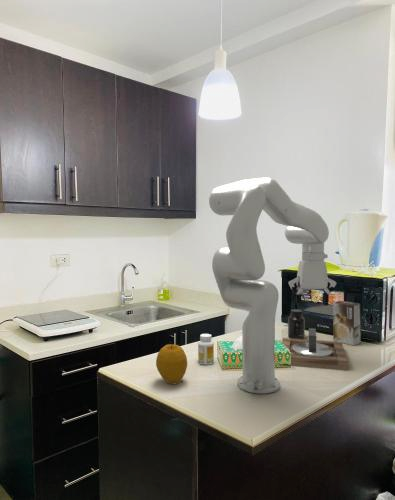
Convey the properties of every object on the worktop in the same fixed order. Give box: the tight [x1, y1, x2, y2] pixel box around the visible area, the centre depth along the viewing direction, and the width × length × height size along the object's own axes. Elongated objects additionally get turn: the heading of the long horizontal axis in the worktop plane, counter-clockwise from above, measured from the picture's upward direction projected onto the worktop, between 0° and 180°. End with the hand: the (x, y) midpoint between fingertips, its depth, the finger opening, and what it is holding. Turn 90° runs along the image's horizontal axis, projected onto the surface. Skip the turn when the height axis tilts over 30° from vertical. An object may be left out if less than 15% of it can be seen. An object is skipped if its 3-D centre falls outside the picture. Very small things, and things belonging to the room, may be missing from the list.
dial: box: [292, 327, 333, 357], centre depth 138 cm, size 14×14×8 cm
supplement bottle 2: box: [287, 308, 306, 339], centre depth 161 cm, size 7×7×12 cm
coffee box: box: [332, 300, 362, 346], centre depth 156 cm, size 9×6×16 cm
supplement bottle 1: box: [197, 333, 215, 366], centre depth 134 cm, size 5×5×10 cm
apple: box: [155, 343, 188, 384], centre depth 117 cm, size 10×10×12 cm
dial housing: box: [281, 337, 349, 371], centre depth 139 cm, size 22×22×3 cm
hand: (311, 305), depth 137 cm, fingers open, 9 cm apart
